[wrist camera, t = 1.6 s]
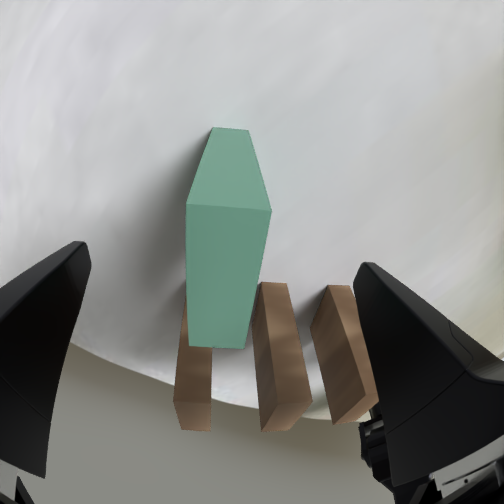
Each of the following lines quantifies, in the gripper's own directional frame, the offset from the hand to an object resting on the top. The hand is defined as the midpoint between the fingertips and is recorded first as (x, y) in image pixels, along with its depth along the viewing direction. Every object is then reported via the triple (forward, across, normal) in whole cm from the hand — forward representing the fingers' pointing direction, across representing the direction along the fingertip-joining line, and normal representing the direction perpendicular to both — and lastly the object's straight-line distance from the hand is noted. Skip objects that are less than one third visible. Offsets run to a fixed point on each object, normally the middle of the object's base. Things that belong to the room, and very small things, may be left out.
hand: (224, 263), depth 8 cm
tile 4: (+8, -4, +10) cm, 13 cm away
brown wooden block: (+8, +1, +10) cm, 13 cm away
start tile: (+8, 0, 0) cm, 8 cm away
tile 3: (+8, -9, +10) cm, 15 cm away
